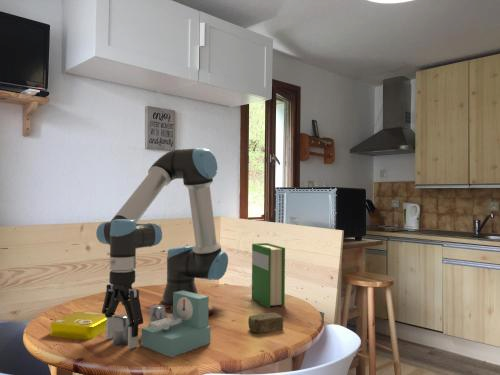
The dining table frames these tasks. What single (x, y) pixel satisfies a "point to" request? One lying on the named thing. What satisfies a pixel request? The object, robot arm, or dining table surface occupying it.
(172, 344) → the scale body
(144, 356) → the dining table surface
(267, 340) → the dining table surface
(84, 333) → the element tile
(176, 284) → the robot arm
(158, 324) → the platform
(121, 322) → the cylinder
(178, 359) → the dining table surface
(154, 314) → the cylinder
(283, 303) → the hardback book
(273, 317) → the stone block
